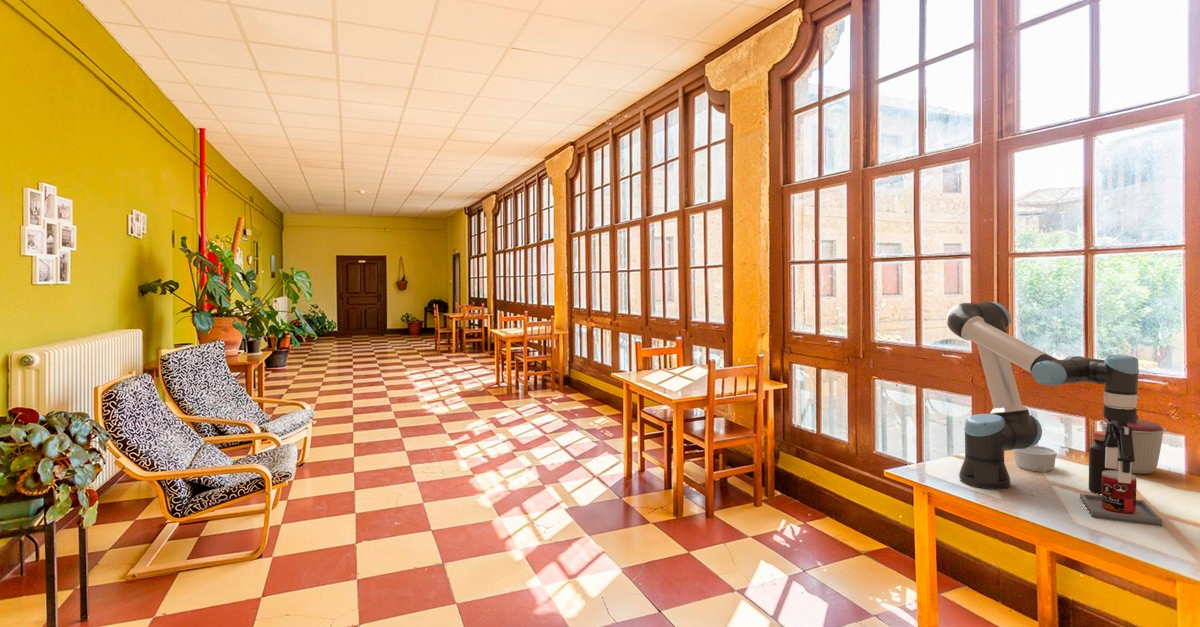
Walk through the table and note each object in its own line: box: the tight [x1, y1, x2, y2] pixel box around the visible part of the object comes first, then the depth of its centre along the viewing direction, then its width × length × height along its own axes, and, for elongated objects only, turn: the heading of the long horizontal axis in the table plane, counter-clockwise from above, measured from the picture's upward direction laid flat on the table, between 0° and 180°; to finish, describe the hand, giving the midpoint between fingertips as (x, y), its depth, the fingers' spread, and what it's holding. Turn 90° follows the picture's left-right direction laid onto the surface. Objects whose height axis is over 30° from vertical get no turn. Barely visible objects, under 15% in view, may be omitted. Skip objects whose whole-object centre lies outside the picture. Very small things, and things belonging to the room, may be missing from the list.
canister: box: [1098, 414, 1167, 475], centre depth 214 cm, size 18×18×21 cm
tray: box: [1079, 493, 1163, 527], centre depth 178 cm, size 16×16×2 cm
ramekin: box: [1012, 444, 1058, 473], centre depth 220 cm, size 13×13×7 cm
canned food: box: [1100, 470, 1138, 514], centre depth 178 cm, size 8×8×11 cm
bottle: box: [1088, 430, 1117, 495], centre depth 194 cm, size 7×7×20 cm
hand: (1117, 475), depth 178 cm, fingers open, 13 cm apart
